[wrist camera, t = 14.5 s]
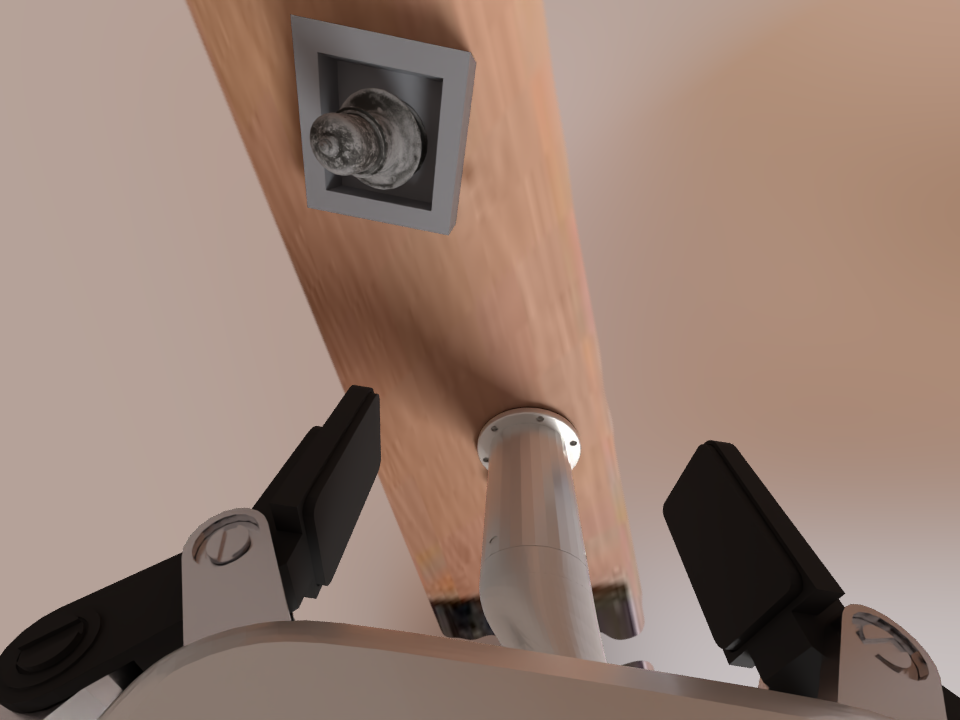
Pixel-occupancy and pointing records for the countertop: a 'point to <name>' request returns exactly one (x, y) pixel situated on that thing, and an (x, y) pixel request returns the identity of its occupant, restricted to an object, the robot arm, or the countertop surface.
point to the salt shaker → (371, 139)
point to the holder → (414, 80)
